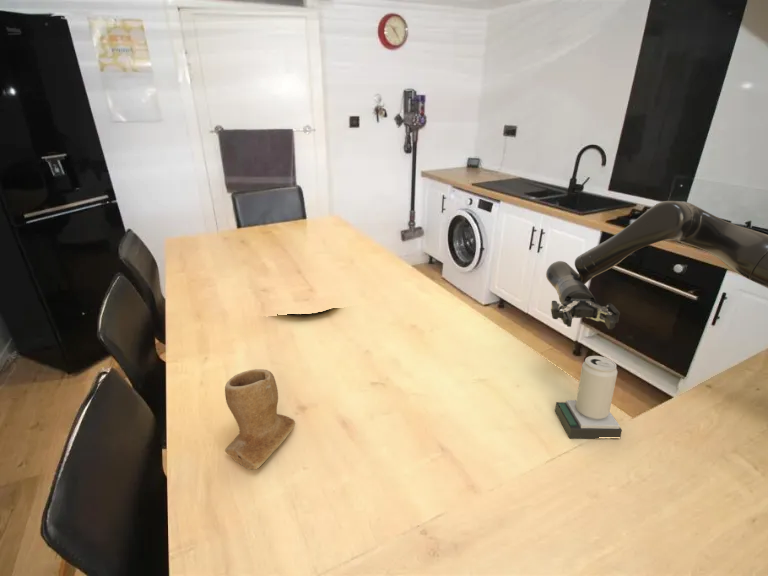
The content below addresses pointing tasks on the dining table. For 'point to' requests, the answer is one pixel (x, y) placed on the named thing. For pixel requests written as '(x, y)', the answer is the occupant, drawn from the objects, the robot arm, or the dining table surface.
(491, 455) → the dining table surface
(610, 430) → the scale
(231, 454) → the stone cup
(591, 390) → the beverage can
